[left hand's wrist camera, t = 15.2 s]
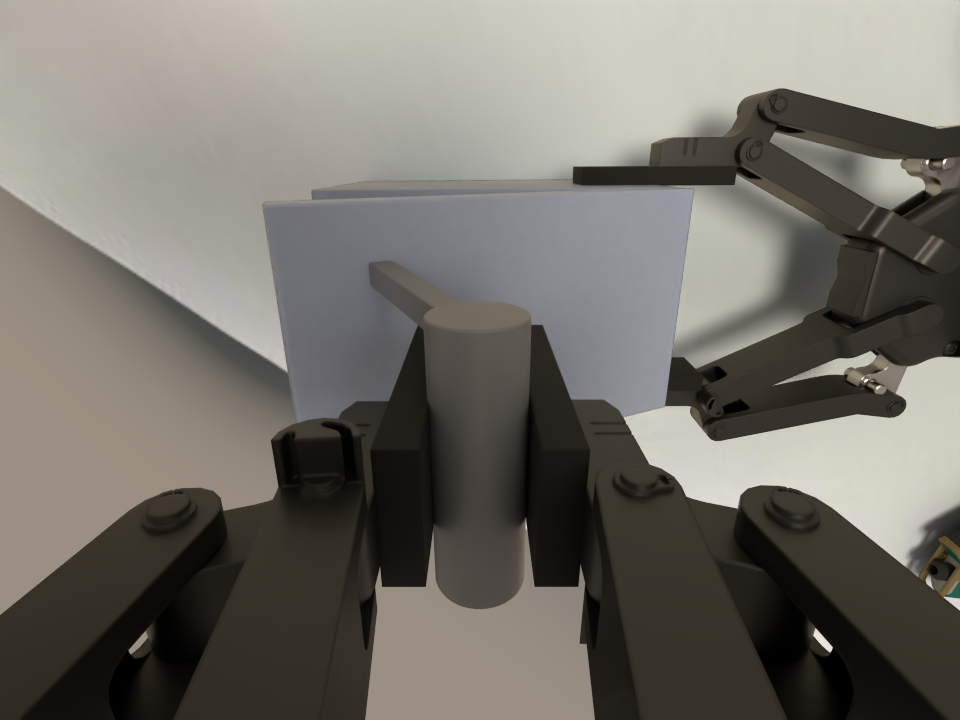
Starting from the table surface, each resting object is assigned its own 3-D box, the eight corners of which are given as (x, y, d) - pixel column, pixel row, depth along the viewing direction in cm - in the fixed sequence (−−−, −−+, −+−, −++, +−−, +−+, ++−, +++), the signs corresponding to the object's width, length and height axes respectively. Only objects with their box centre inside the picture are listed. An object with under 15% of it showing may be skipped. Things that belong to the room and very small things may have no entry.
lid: (303, 477, 17) (364, 720, 10) (261, 201, 14) (303, 244, 7) (646, 396, 23) (851, 510, 16) (671, 187, 20) (944, 201, 12)
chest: (377, 330, 33) (335, 396, 24) (364, 181, 29) (310, 189, 20) (604, 329, 33) (651, 395, 23) (616, 179, 29) (677, 187, 20)
